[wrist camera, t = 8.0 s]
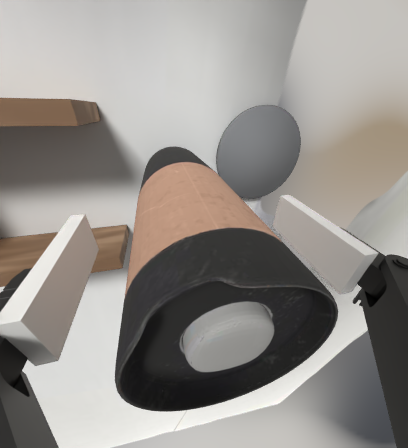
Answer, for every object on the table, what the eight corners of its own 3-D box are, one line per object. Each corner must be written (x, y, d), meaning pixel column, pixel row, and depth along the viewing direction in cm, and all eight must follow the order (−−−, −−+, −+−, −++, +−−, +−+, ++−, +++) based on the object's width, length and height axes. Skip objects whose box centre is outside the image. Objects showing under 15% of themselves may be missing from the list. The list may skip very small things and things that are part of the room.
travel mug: (194, 210, 26) (271, 394, 9) (137, 198, 23) (96, 431, 6) (214, 155, 22) (390, 288, 6) (149, 133, 20) (134, 265, 3)
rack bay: (-143, 98, 14) (-330, 91, 8) (95, 102, 17) (70, 99, 12) (-19, 251, 22) (-74, 298, 16) (128, 234, 25) (122, 268, 20)
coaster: (218, 104, 20) (220, 104, 19) (307, 106, 22) (312, 105, 21) (214, 199, 25) (216, 201, 25) (284, 192, 28) (288, 195, 27)
